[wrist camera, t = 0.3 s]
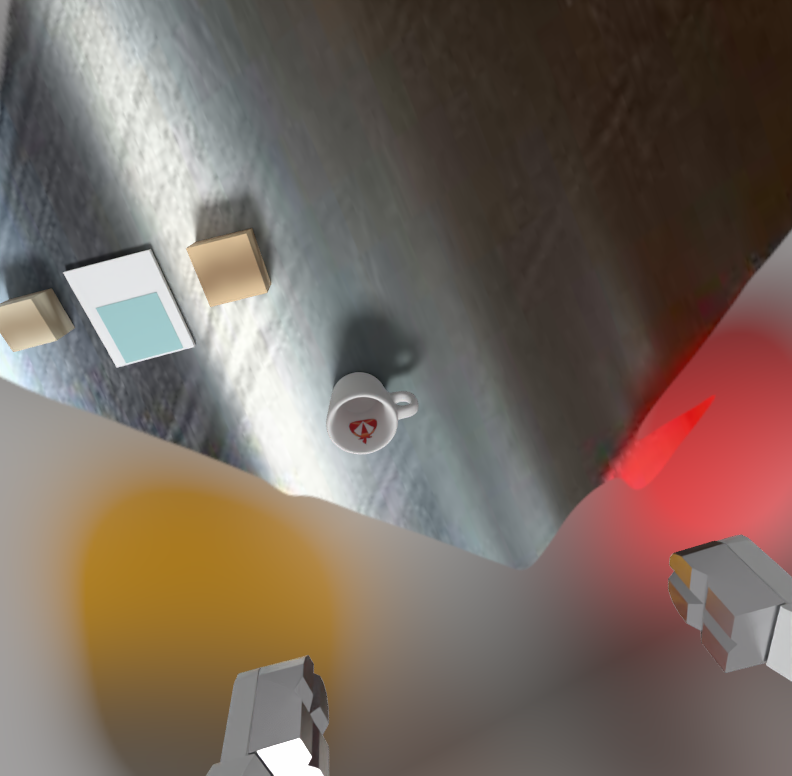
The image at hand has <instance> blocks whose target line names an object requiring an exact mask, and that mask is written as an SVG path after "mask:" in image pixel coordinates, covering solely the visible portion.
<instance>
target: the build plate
mask: <svg viewBox="0 0 792 776" xmlns="http://www.w3.org/2000/svg"><path fill="white" fill-rule="evenodd" d="M63 273H64V275H65V277H66V279H67V280H68V282H69V284H70V286H71V287H72V289H73V291H74V293H75V295H76V296H77V298H78V300H79V302H80V303H81V305H82V307H83V309H84V310H85V312H86V314H87V316H88V317H89V319H90V321H91V323H92V325H93V326H94V328H95V330H96V332H97V333H98V335H99V337H100V339H101V340H102V342H103V344H104V346H105V347H106V349H107V351H108V353H109V354H110V356H111V358H112V360H113V362H114V363H115V365H116V367H120V366H124V365H128V364H132V363H135V362H139V361H143V360H147V359H150V358H154V357H158V356H162V355H165V354H169V353H173V352H177V351H180V350H184V349H188V348H192V347H195V345H196V344H195V342H194V340H193V338H192V336H191V333H190V331H189V329H188V327H187V325H186V323H185V321H184V318H183V316H182V314H181V312H180V310H179V308H178V306H177V303H176V301H175V299H174V297H173V295H172V293H171V291H170V288H169V286H168V284H167V282H166V280H165V278H164V276H163V273H162V271H161V269H160V267H159V265H158V263H157V261H156V258H155V256H154V254H153V252H152V250H151V249H149V250H145V251H141V252H137V253H133V254H130V255H126V256H122V257H118V258H114V259H110V260H107V261H103V262H99V263H95V264H91V265H88V266H84V267H80V268H76V269H72V270H68V271H65V272H63Z"/></svg>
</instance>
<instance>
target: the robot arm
mask: <svg viewBox="0 0 792 776" xmlns="http://www.w3.org/2000/svg"><path fill="white" fill-rule="evenodd" d="M669 565H670V567H671V568H672V569H673V570H674V572H673V574H672V575H671V576H670V577H669V579H668V590H669V593H670V596H671V599H672V602H673V604H674V606H675V607H676V609H677V611H678V612H679V614H680V615H681V616H682V618H683V619H684V621H685V622H686V623H687V624H689V625H691V626H693V627H695V628H697V629H699V630H701V643H702V644H703V645H704V647H705V648H706V649H707V650H708V652H709V653H710V654H711V656H712V657H713V658H714V659H715V661H716V662H717V663H718V665H719V666H720V667H721V669H722V670H723V671H724V672H725V673H727V672H731V671H735V670H739V669H743V668H747V667H751V666H755V665H759V664H763V663H767V664H766V665H767V666H768V667H770V668H771V669H773V670H774V671H776V672H778V673H779V674H781V675H782V676H784V677H786V678H787V679H789V680H790V681H792V577H791V576H790V575H789V574H787V572H785V571H784V570H783V569H782V568H781V567H780V566H779V565H778V564H777V563H776V562H774V561H773V560H772V559H771V558H770V557H769V556H768V555H767V554H766V553H764V552H763V551H762V550H761V549H760V548H759V547H757V545H755V544H754V543H753V542H752V541H751V540H750V539H749V538H747V537H745V536H743V535H735V536H732V537H728V538H725V539H722V540H719V541H712V542H709V543H706V544H702V545H699V546H695V547H692V548H689V549H685V550H682V551H679V552H676V553H673V554H672V555H671V556H670V562H669ZM328 724H329V708H328V700H327V693H326V690H325V686H324V683H323V681H322V679H321V677H320V676H319V675H317V674H314V664H313V662H312V660H311V659H310V657H309V655H307V656H304V657H300V658H296V659H293V660H288V661H285V662H281V663H277V664H274V665H269V666H266V667H261V668H257V669H254V670H250V671H246V672H243V673H240V674H238V676H237V678H236V680H235V683H234V687H233V692H232V698H231V704H230V710H229V715H228V721H227V727H226V733H225V738H224V744H223V750H222V755H221V762H220V763H217V764H214V765H213V766H212V767H211V769H210V771H209V772H208V774H207V775H206V776H329V746H328V744H327V743H326V741H325V739H324V737H323V733H324V732H325V730H326V728H327V726H328Z"/></svg>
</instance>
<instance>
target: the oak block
mask: <svg viewBox="0 0 792 776" xmlns="http://www.w3.org/2000/svg"><path fill="white" fill-rule="evenodd" d="M186 250H187V252H188V254H189V257H190V259H191V262H192V264H193V266H194V269H195V271H196V274H197V276H198V278H199V281H200V283H201V286H202V288H203V290H204V293H205V295H206V298H207V300H208V302H209V305H210V307H212V306H216V305H220V304H224V303H228V302H232V301H236V300H240V299H244V298H248V297H252V296H256V295H260V294H264V293H267V292H268V290H269V288H270V285H271V281H270V279H269V276H268V273H267V270H266V267H265V264H264V261H263V258H262V255H261V252H260V250H259V247H258V244H257V241H256V238H255V235H254V232H253V229H252V228H250V229H246V230H242V231H238V232H234V233H230V234H226V235H222V236H218V237H214V238H210V239H206V240H202V241H198V242H195V243H193V244H192V245H190V246H189V247H187V248H186Z"/></svg>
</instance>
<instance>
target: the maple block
mask: <svg viewBox="0 0 792 776" xmlns="http://www.w3.org/2000/svg"><path fill="white" fill-rule="evenodd" d="M74 328H75V327H74V325H73V324H72V322H71V320H70V319H69V317H68V315H67V314H66V312H65V310H64V309H63V307H62V305H61V303H60V302H59V300H58V298H57V297H56V295H55V293H54V292H53V290H52V288H51V289H47V290H43V291H39V292H35V293H32V294H28V295H24V296H20V297H16V298H13V299H9V300H7V301H5V302H3V303H1V304H0V333H1V335H2V336H3V338H4V339H5V341H6V342H7V344H8V345H9V346H10V348H11V349H12V351H13V352H16V351H20V350H23V349H27V348H31V347H35V346H38V345H42V344H46V343H50V342H54V341H57V340H58V339H60V338H61V337H63V336H64V335H65V334H67V333H68V332H70V331H71V330H73V329H74Z"/></svg>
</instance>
